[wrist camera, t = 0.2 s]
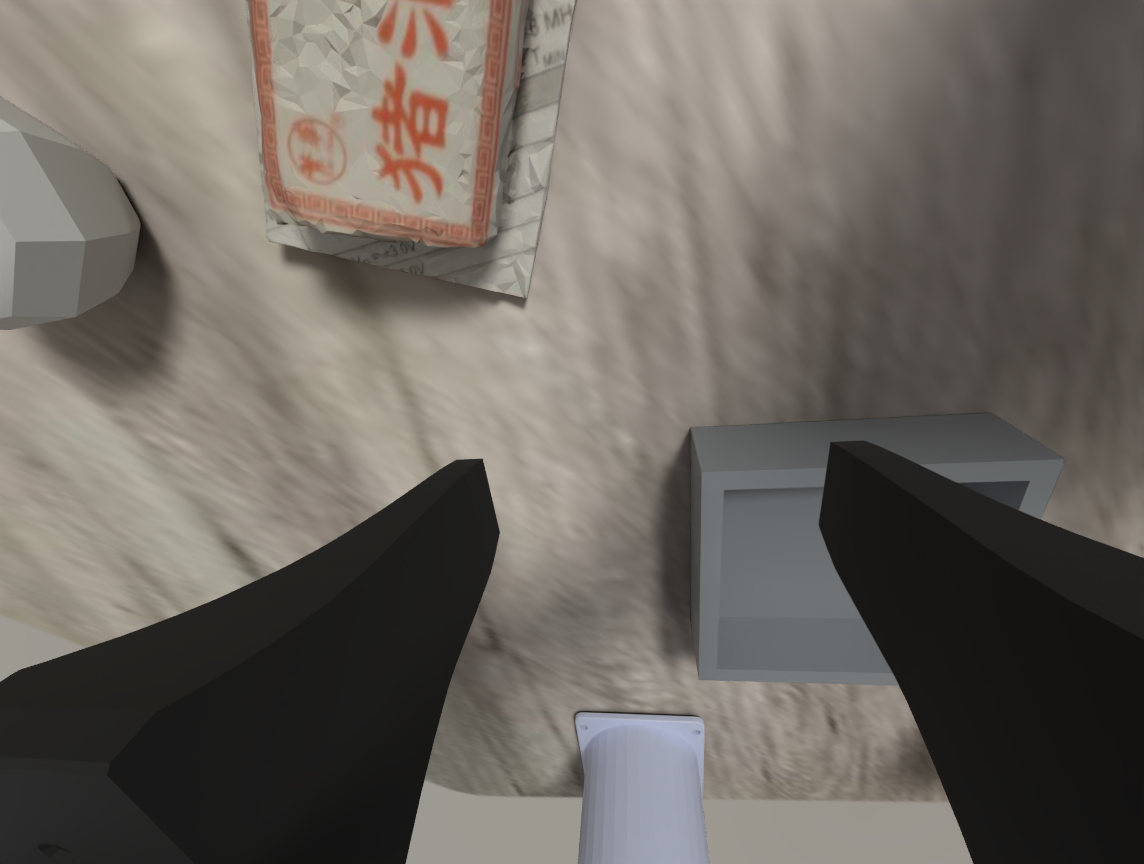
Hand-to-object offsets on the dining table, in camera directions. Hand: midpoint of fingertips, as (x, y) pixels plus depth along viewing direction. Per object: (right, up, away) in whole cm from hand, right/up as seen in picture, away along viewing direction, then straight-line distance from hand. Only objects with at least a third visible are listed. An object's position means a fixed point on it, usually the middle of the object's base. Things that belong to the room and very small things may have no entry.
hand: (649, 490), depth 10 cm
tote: (+10, -3, +12) cm, 16 cm away
